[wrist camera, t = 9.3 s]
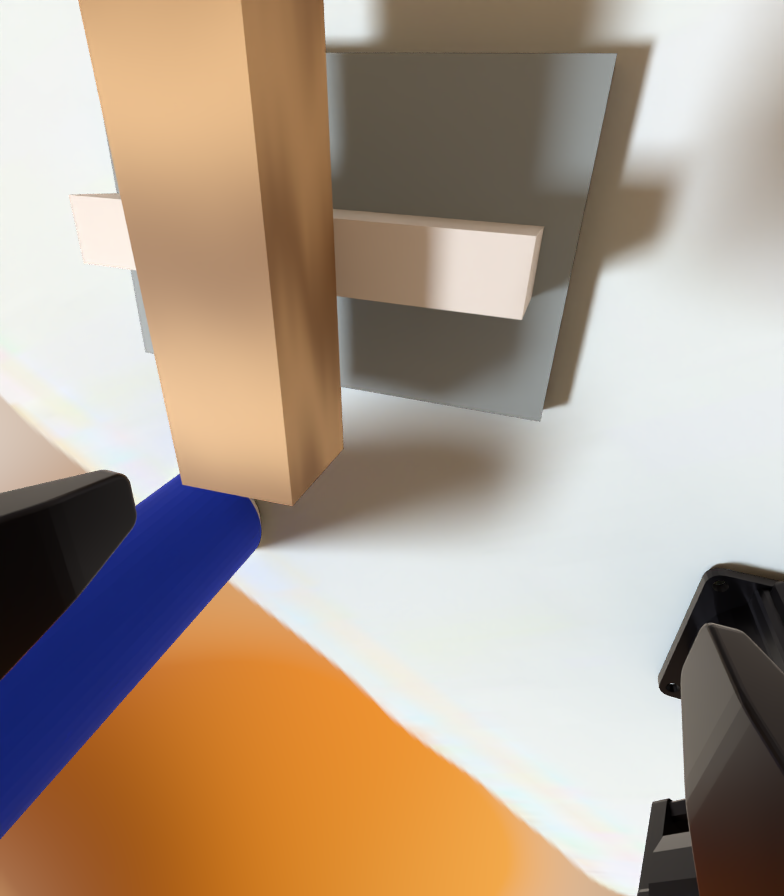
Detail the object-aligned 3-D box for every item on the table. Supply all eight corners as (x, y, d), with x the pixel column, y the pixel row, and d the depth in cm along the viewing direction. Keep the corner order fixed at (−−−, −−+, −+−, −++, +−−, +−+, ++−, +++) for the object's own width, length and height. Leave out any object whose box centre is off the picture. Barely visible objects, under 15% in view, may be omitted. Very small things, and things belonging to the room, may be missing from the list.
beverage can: (214, 444, 24) (-201, 744, 11) (288, 526, 25) (-21, 892, 12) (159, 491, 26) (-228, 778, 14) (227, 565, 27) (-78, 898, 15)
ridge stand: (542, 410, 18) (532, 462, 15) (161, 345, 22) (87, 375, 19) (615, 61, 14) (625, 22, 10) (115, 58, 18) (4, 29, 14)
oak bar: (343, 448, 17) (292, 506, 14) (248, 433, 18) (182, 484, 15) (321, -42, 11) (228, -122, 8) (185, -25, 12) (58, -91, 9)
